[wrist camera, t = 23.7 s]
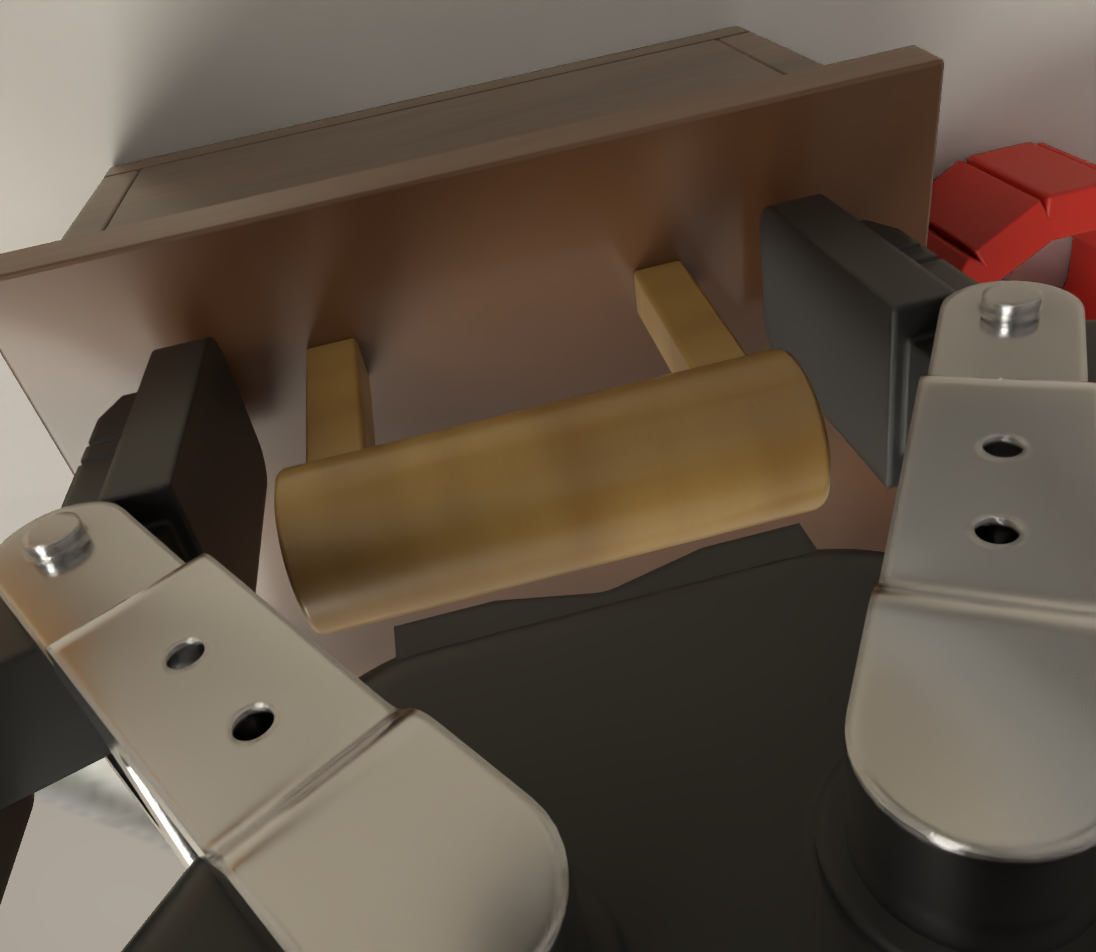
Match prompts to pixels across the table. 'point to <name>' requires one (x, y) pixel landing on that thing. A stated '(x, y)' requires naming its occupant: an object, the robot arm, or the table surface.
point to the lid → (504, 347)
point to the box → (431, 126)
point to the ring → (1017, 214)
